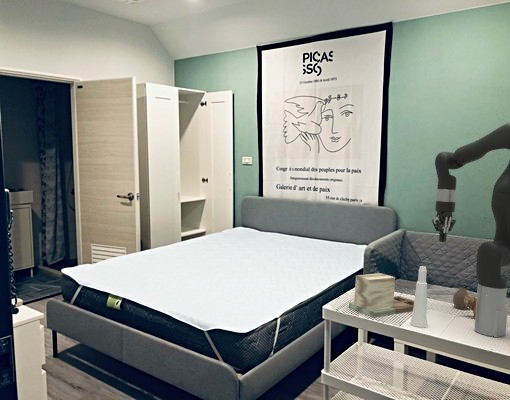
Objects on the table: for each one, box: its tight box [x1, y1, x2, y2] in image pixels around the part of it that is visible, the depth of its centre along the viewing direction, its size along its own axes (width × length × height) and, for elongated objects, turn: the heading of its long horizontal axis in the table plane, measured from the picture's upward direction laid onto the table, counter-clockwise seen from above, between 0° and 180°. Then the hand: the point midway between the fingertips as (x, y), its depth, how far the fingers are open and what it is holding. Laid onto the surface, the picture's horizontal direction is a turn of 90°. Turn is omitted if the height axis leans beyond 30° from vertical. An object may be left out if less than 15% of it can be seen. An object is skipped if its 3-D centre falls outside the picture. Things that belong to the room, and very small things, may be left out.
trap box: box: [348, 295, 414, 318], centre depth 184 cm, size 14×30×2 cm, turn 120°
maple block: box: [353, 272, 396, 310], centre depth 180 cm, size 8×14×12 cm, turn 120°
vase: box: [452, 287, 470, 310], centre depth 190 cm, size 7×7×9 cm
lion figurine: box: [464, 294, 477, 320], centre depth 175 cm, size 15×5×9 cm, turn 50°
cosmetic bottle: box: [409, 265, 428, 329], centre depth 164 cm, size 6×6×22 cm
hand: (442, 241), depth 184 cm, fingers closed
